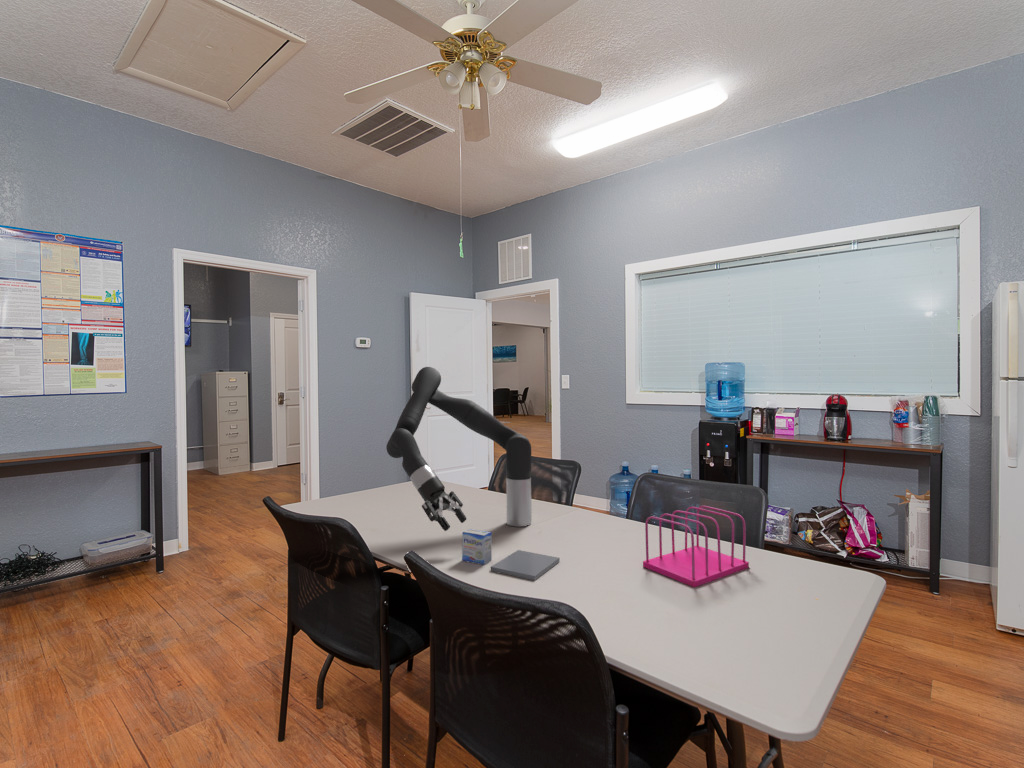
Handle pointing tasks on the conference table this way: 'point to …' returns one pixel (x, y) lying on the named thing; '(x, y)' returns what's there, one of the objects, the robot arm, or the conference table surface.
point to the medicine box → (476, 546)
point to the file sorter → (695, 553)
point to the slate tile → (525, 564)
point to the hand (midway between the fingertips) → (456, 525)
